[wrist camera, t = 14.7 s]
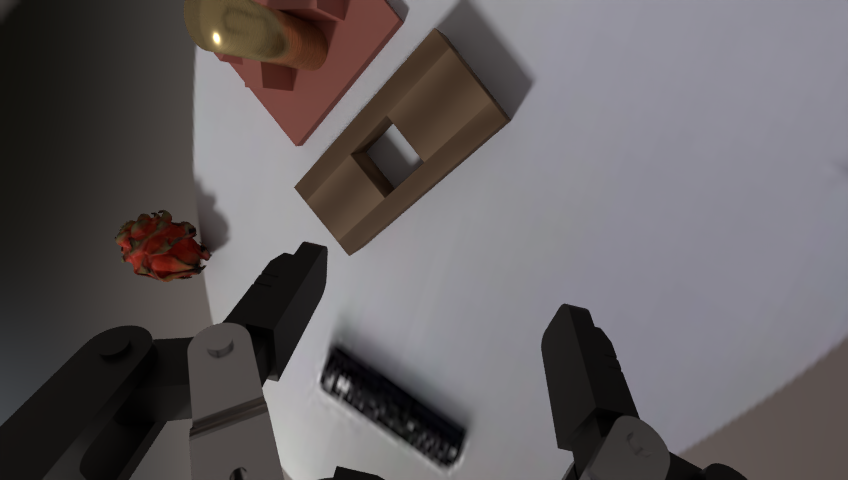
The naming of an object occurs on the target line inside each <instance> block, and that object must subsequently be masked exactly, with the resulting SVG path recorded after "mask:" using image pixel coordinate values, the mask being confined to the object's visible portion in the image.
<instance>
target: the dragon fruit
mask: <svg viewBox="0 0 848 480" xmlns="http://www.w3.org/2000/svg"><path fill="white" fill-rule="evenodd" d="M162 212H163V214H162V217H160V216H159V214H157V213H151V214H154V218H150V216H149V215H148V214H141V215H140V216H139V217H138V220H137V221H136V222H135V221H132V220H131V221H129V222H126V223H124V225H123V226H120V228H122V229H120V232H119V234H118V235H117V238H116V237H115V241H116V242H117V243H118V245H121V246H122V248H121V252H122V253H124V255H123V256H122V260H121V261H122V262H126V261H129V262H131V263H132V264H133V266H134V273H135V274H137V275H141V276H146V277H150V278H153V279H157V280H162V281H163V282H169V281H171V280H173V279H186V278H187V279H188V278H192V277H190V276H191V275H196V274H200V273H201V270H203V269H204V268H205V267H206V266H205V265H204V266H203V267H200V264H201V263H200V259H204V260H206V261H208V260H209V259H210V255H209V254H210V253H209V252H207V251H208V250H207V247H206V246H205V245H204V244H203V243H201V242H200V243H201V244H202V245H203V246H202V245H199V244H197V243H196V241H195V240H194V239H193V237H195V236H196V235H197V234H196V228H194V226H193V225H191V224H190V223H189V222H181V223H173V222H171V220H172V216H171V214H170V213H169V212H167V211H165V210H160V211H159V212H158V213H162ZM171 223H172V224H171ZM195 234H196V235H195ZM203 250H204V251H203ZM184 276H185V277H184Z"/></svg>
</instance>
